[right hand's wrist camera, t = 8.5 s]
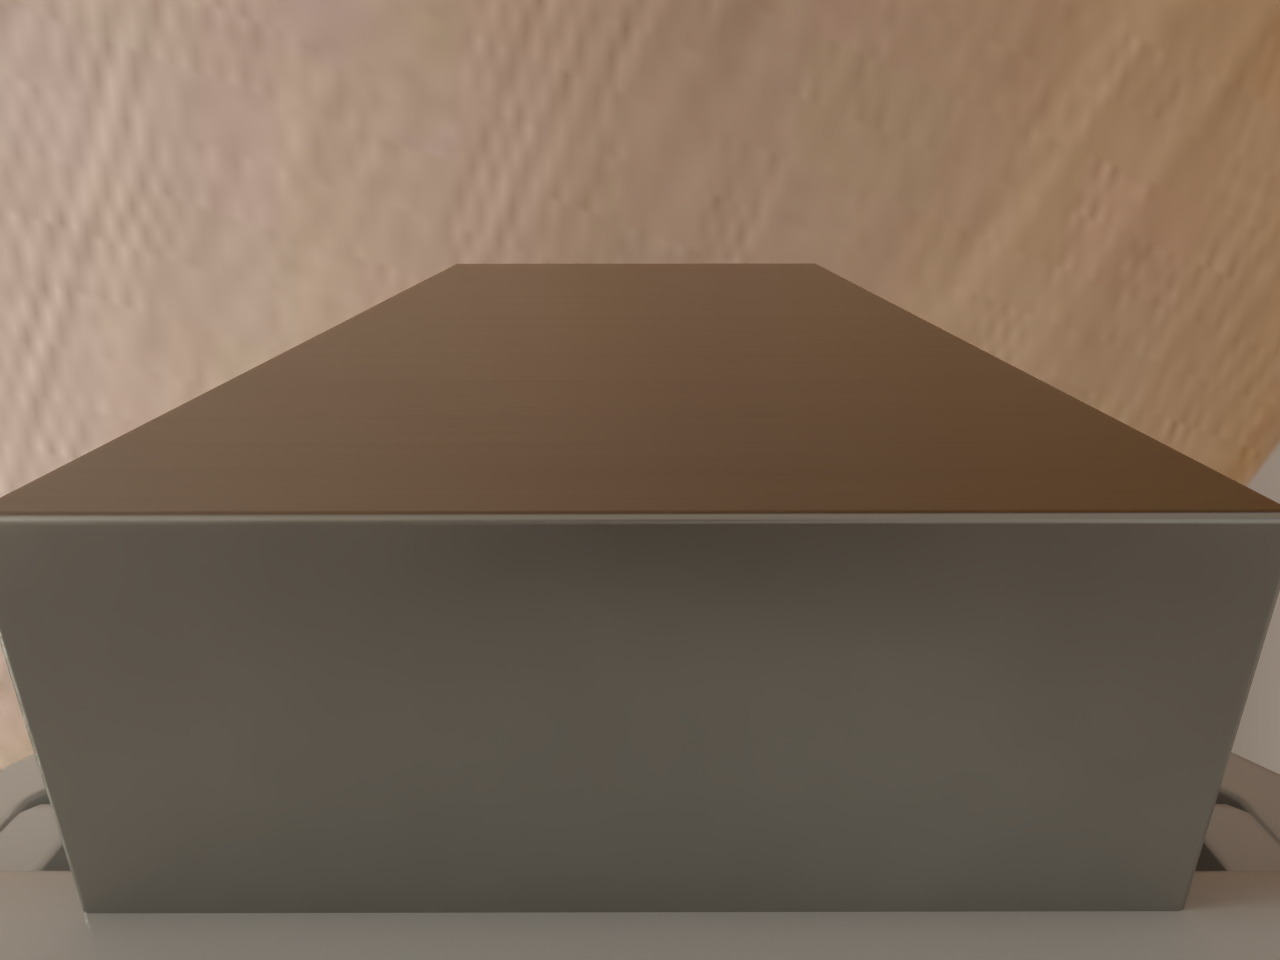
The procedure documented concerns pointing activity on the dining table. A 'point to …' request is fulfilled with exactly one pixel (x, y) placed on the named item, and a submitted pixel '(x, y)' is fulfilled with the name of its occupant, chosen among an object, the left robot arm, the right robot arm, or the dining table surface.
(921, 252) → the dining table surface
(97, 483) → the box
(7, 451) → the dining table surface
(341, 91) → the dining table surface
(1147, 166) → the dining table surface
